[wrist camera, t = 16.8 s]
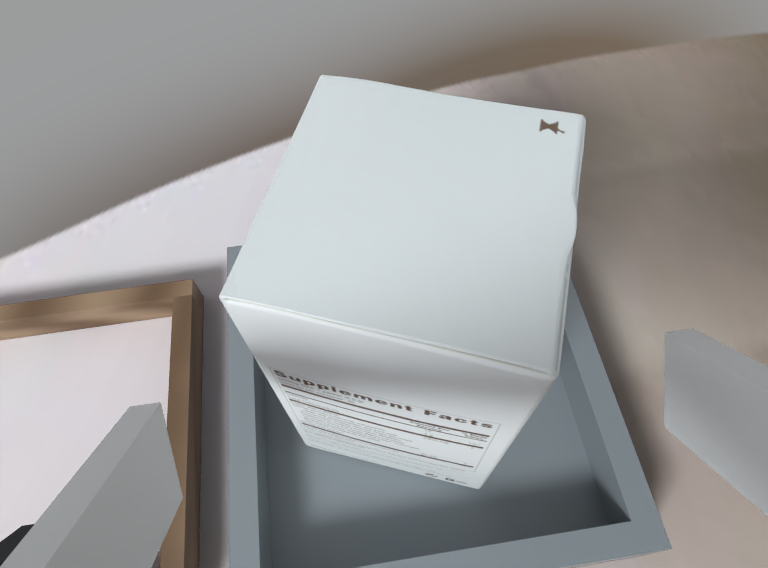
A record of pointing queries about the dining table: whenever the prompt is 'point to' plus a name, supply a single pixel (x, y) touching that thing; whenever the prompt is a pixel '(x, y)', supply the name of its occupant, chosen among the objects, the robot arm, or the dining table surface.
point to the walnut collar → (183, 378)
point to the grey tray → (442, 484)
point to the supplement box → (412, 274)
